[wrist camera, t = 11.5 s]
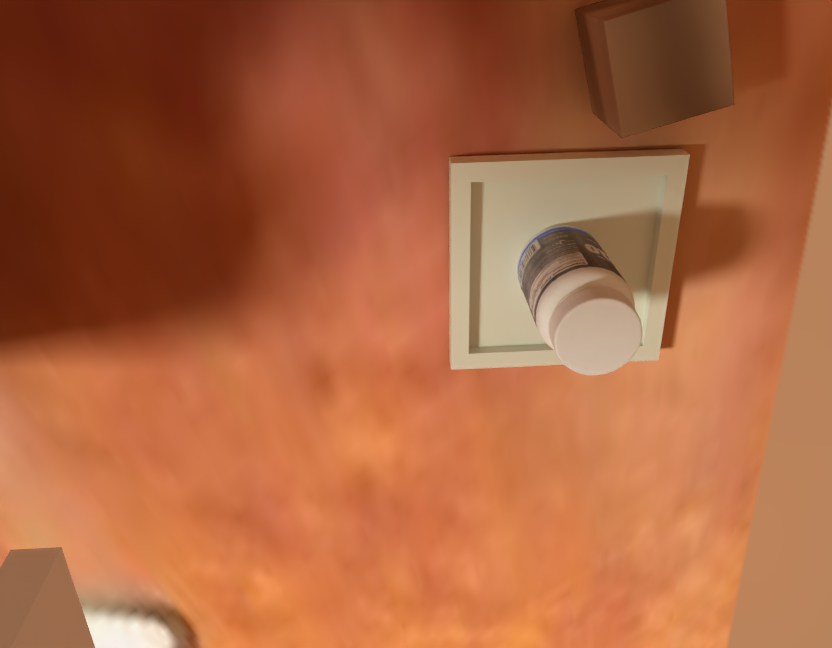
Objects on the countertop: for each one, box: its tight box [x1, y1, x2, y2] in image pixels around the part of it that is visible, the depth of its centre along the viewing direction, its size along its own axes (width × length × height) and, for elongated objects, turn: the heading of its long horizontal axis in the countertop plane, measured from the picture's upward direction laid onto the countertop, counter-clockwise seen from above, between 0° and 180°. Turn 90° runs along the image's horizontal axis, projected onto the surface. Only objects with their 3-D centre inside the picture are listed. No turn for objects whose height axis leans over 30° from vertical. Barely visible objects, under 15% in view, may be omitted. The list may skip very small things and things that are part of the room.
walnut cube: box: [575, 0, 735, 138], centre depth 34 cm, size 5×5×5 cm
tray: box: [449, 148, 690, 370], centre depth 40 cm, size 12×12×1 cm
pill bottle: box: [517, 225, 642, 375], centre depth 37 cm, size 5×5×8 cm
